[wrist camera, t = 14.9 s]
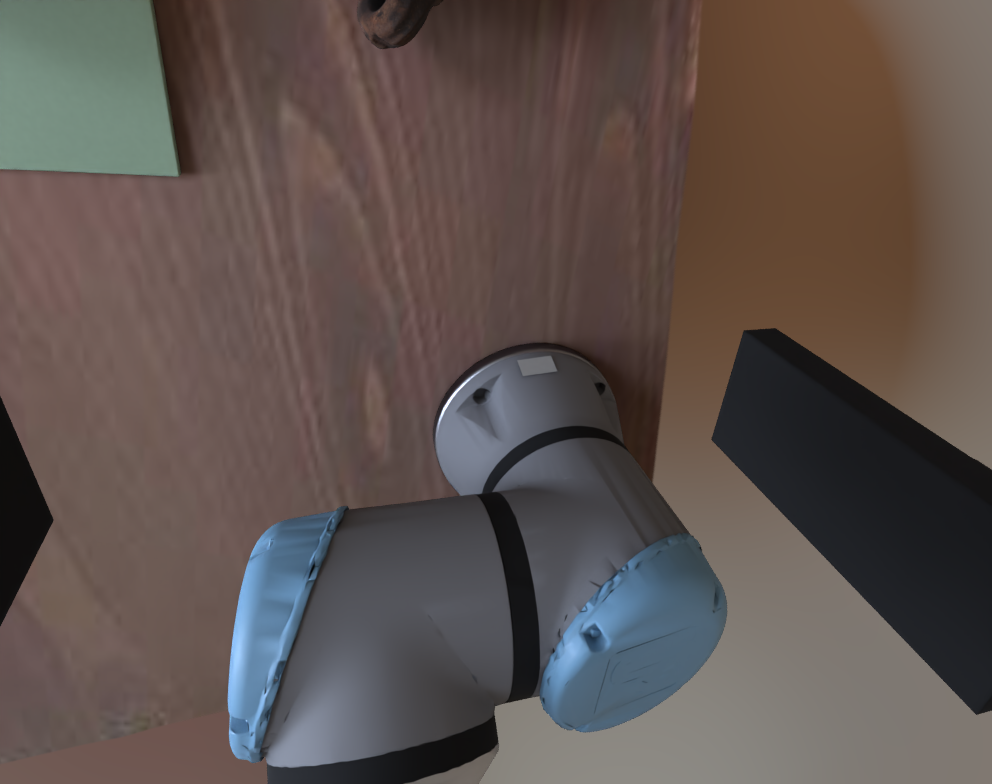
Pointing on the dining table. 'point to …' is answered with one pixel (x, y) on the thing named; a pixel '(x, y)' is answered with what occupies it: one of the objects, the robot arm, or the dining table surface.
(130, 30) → the placemat
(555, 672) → the robot arm
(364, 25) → the pottery mug
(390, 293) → the dining table surface
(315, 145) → the dining table surface
